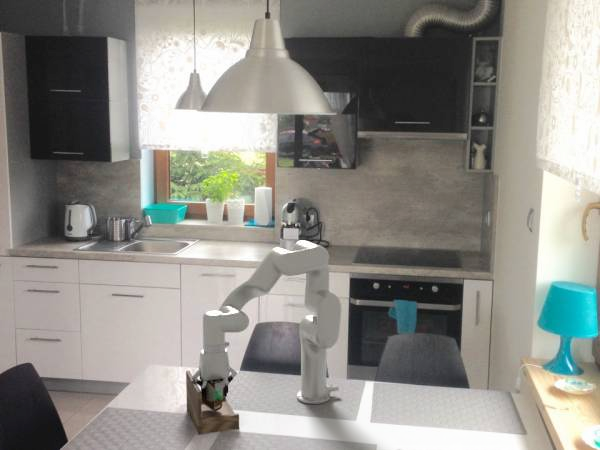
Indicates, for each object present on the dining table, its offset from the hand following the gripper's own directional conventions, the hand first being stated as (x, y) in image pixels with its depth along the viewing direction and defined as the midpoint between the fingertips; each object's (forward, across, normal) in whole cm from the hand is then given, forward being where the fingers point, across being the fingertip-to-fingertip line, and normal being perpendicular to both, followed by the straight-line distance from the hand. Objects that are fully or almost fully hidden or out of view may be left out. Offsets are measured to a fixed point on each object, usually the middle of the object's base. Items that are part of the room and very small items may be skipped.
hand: (214, 395), depth 248 cm
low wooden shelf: (+8, +1, 0) cm, 9 cm away
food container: (+3, 0, 0) cm, 3 cm away
